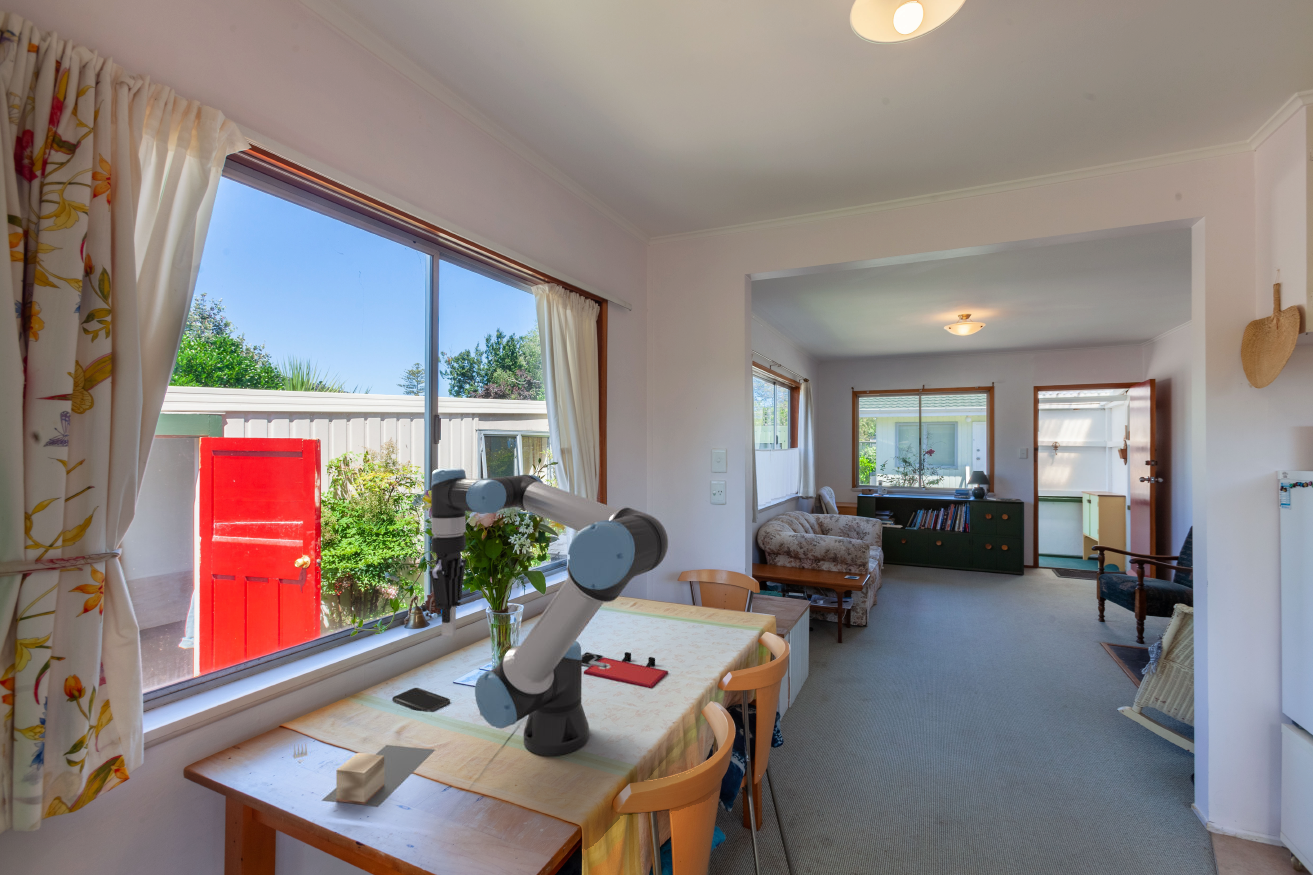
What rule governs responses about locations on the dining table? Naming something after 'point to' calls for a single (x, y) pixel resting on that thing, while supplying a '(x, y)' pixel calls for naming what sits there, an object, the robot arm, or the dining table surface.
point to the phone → (421, 700)
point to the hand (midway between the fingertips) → (448, 634)
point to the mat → (392, 771)
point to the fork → (299, 753)
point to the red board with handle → (623, 670)
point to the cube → (360, 778)
